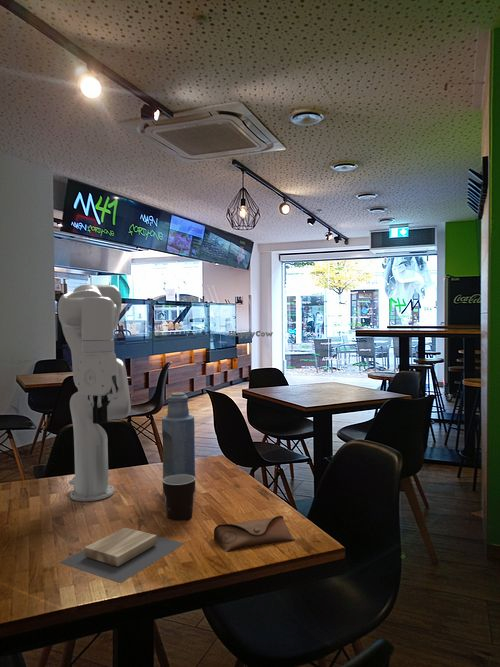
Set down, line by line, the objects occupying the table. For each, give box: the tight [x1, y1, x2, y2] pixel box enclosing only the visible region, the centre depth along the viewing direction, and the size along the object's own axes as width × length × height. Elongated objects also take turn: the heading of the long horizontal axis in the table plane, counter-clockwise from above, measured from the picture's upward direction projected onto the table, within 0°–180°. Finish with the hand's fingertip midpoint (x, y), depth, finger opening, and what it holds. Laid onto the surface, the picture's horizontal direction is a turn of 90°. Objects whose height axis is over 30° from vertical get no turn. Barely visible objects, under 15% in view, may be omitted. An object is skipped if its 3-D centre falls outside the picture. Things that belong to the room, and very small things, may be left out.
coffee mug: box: [161, 474, 196, 522], centre depth 134 cm, size 12×9×10 cm
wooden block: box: [83, 527, 158, 566], centre depth 112 cm, size 2×12×10 cm
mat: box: [59, 535, 185, 584], centre depth 112 cm, size 18×20×1 cm
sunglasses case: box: [213, 515, 296, 553], centre depth 118 cm, size 18×7×7 cm
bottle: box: [161, 391, 196, 494], centre depth 152 cm, size 10×10×30 cm
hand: (100, 422), depth 123 cm, fingers closed
